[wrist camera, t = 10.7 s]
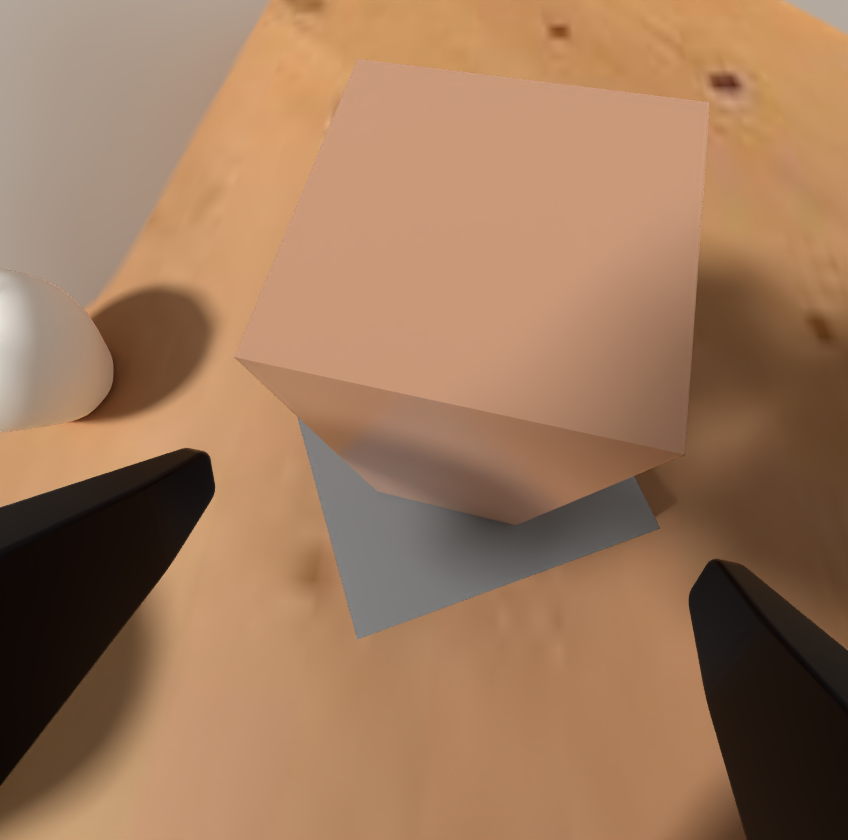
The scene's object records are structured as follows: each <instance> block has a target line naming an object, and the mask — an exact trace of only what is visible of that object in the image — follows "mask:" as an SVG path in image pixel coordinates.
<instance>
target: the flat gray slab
mask: <svg viewBox="0 0 848 840" xmlns="http://www.w3.org/2000/svg"><path fill="white" fill-rule="evenodd" d="M298 421H299V424H300V428H301V432H302V435H303V439H304V443H305V447H306V450H307V454H308V458H309V461H310V465H311V469H312V473H313V476H314V480H315V484H316V487H317V491H318V495H319V499H320V502H321V506H322V510H323V514H324V517H325V521H326V525H327V528H328V532H329V536H330V540H331V543H332V547H333V551H334V554H335V558H336V562H337V566H338V569H339V573H340V577H341V580H342V584H343V588H344V592H345V595H346V599H347V603H348V607H349V610H350V614H351V618H352V621H353V625H354V629H355V633H356V636H357V639H360V638H362V637H365V636H368V635H370V634H373V633H376V632H379V631H381V630H384V629H387V628H390V627H392V626H395V625H398V624H400V623H403V622H406V621H409V620H411V619H414V618H417V617H420V616H422V615H425V614H428V613H430V612H433V611H436V610H439V609H441V608H444V607H447V606H450V605H452V604H455V603H458V602H460V601H463V600H466V599H469V598H471V597H474V596H477V595H480V594H482V593H485V592H488V591H491V590H493V589H496V588H499V587H501V586H504V585H507V584H510V583H512V582H515V581H518V580H521V579H523V578H526V577H529V576H531V575H534V574H537V573H540V572H542V571H545V570H548V569H551V568H553V567H556V566H559V565H561V564H564V563H567V562H570V561H572V560H575V559H578V558H581V557H583V556H586V555H589V554H592V553H594V552H597V551H600V550H602V549H605V548H608V547H611V546H613V545H616V544H619V543H622V542H624V541H627V540H630V539H632V538H635V537H638V536H641V535H643V534H646V533H649V532H652V531H654V530H657V529H660V527H659V525H658V523H657V521H656V519H655V517H654V515H653V513H652V511H651V509H650V507H649V505H648V503H647V501H646V499H645V497H644V495H643V493H642V490H641V488H640V486H639V484H638V482H637V480H636V478H635V476H633V477H630V478H628V479H626V480H623V481H621V482H618V483H616V484H614V485H611V486H609V487H606V488H604V489H602V490H599V491H597V492H594V493H592V494H590V495H587V496H585V497H582V498H580V499H578V500H575V501H573V502H570V503H568V504H566V505H563V506H561V507H559V508H556V509H554V510H551V511H549V512H547V513H544V514H542V515H539V516H537V517H535V518H532V519H530V520H527V521H525V522H523V523H520V524H518V525H511V524H507V523H503V522H499V521H495V520H491V519H487V518H483V517H479V516H475V515H471V514H467V513H463V512H458V511H454V510H450V509H446V508H442V507H438V506H434V505H430V504H426V503H422V502H418V501H414V500H410V499H406V498H401V497H397V496H393V495H389V494H385V493H381V492H377V491H376V490H375V489H374V488H373V487H372V486H371V485H370V484H369V483H368V482H366V481H365V480H364V479H363V478H362V477H361V476H360V475H359V474H358V473H357V472H356V471H355V470H354V469H353V468H352V467H350V466H349V465H348V464H347V463H346V462H345V461H344V460H343V459H342V458H341V457H340V456H339V455H338V454H337V453H336V452H335V451H333V450H332V449H331V448H330V447H329V446H328V445H327V444H326V443H325V442H324V441H323V440H322V439H321V438H320V437H319V436H318V435H316V434H315V433H314V432H313V431H312V430H311V429H310V428H309V427H308V426H307V425H306V424H305V423H304V422H303V421H302V420H300V419H299V418H298Z"/></svg>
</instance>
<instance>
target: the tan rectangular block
mask: <svg viewBox="0 0 848 840" xmlns="http://www.w3.org/2000/svg"><path fill="white" fill-rule="evenodd" d="M709 105H710V102H703V101H695V100H687V99H679V98H671V97H663V96H655V95H646V94H638V93H630V92H622V91H614V90H606V89H598V88H590V87H582V86H574V85H565V84H557V83H549V82H541V81H533V80H525V79H517V78H509V77H501V76H493V75H484V74H476V73H468V72H460V71H452V70H444V69H436V68H428V67H420V66H411V65H403V64H395V63H387V62H379V61H371V60H363V59H357V61H356V63H355V66H354V68H353V71H352V73H351V76H350V78H349V80H348V83H347V85H346V88H345V90H344V92H343V95H342V97H341V100H340V102H339V105H338V107H337V109H336V112H335V114H334V117H333V119H332V122H331V124H330V126H329V129H328V131H327V134H326V136H325V138H324V141H323V143H322V146H321V148H320V151H319V153H318V155H317V158H316V160H315V163H314V165H313V168H312V170H311V172H310V175H309V177H308V180H307V182H306V184H305V187H304V189H303V192H302V194H301V197H300V199H299V201H298V204H297V206H296V209H295V211H294V214H293V216H292V218H291V221H290V223H289V226H288V228H287V230H286V233H285V235H284V238H283V240H282V243H281V245H280V247H279V250H278V252H277V255H276V257H275V260H274V262H273V264H272V267H271V269H270V272H269V274H268V276H267V279H266V281H265V284H264V286H263V289H262V291H261V293H260V296H259V298H258V301H257V303H256V306H255V308H254V310H253V313H252V315H251V318H250V320H249V322H248V325H247V327H246V330H245V332H244V335H243V337H242V339H241V342H240V344H239V347H238V349H237V352H236V354H235V356H234V358H236V359H237V360H238V361H239V362H240V363H241V364H242V365H243V366H244V367H245V368H246V369H247V370H248V371H249V372H250V373H252V374H253V375H254V376H255V377H256V378H257V379H258V380H259V381H260V382H261V383H262V384H263V385H264V386H265V387H266V388H267V389H269V390H270V391H271V392H272V393H273V394H274V395H275V396H276V397H277V398H278V399H279V400H280V401H281V402H282V403H283V404H285V405H286V406H287V407H288V408H289V409H290V410H291V411H292V412H293V413H294V414H295V415H296V416H297V417H298V418H299V419H300V420H302V421H303V422H304V423H305V424H306V425H307V426H308V427H309V428H310V429H311V430H312V431H313V432H314V433H315V434H316V435H318V436H319V437H320V438H321V439H322V440H323V441H324V442H325V443H326V444H327V445H328V446H329V447H330V448H331V449H332V450H333V451H335V452H336V453H337V454H338V455H339V456H340V457H341V458H342V459H343V460H344V461H345V462H346V463H347V464H348V465H349V466H350V467H352V468H353V469H354V470H355V471H356V472H357V473H358V474H359V475H360V476H361V477H362V478H363V479H364V480H365V481H366V482H368V483H369V484H370V485H371V486H372V487H373V488H374V489H375V490H376V491H377V492H381V493H385V494H389V495H393V496H397V497H401V498H406V499H410V500H414V501H418V502H422V503H426V504H430V505H434V506H438V507H442V508H446V509H450V510H454V511H458V512H463V513H467V514H471V515H475V516H479V517H483V518H487V519H491V520H495V521H499V522H503V523H507V524H511V525H518V524H520V523H523V522H525V521H527V520H530V519H532V518H535V517H537V516H539V515H542V514H544V513H547V512H549V511H551V510H554V509H556V508H559V507H561V506H563V505H566V504H568V503H570V502H573V501H575V500H578V499H580V498H582V497H585V496H587V495H590V494H592V493H594V492H597V491H599V490H602V489H604V488H606V487H609V486H611V485H614V484H616V483H618V482H621V481H623V480H626V479H628V478H630V477H633V476H635V475H638V474H640V473H642V472H645V471H647V470H649V469H652V468H654V467H657V466H659V465H661V464H664V463H666V462H669V461H671V460H673V459H676V458H678V457H681V456H683V455H685V448H686V434H687V420H688V405H689V391H690V377H691V363H692V348H693V334H694V320H695V305H696V291H697V277H698V262H699V248H700V234H701V220H702V205H703V191H704V177H705V162H706V148H707V134H708V119H709Z"/></svg>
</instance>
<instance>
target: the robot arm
mask: <svg viewBox="0 0 848 840" xmlns="http://www.w3.org/2000/svg"><path fill="white" fill-rule="evenodd" d="M214 492H215V482H214V476H213V471H212V465H211V459H210V456H209V455H208V454H207V453H206V452H204V451H200V450H195V449H191V448H183V449H180V450H177V451H173V452H170V453H167V454H164V455H161V456H158V457H155V458H152V459H149V460H146V461H143V462H139V463H136V464H133V465H130V466H127V467H124V468H121V469H118V470H115V471H112V472H109V473H105V474H102V475H99V476H96V477H93V478H90V479H87V480H84V481H81V482H78V483H74V484H71V485H68V486H65V487H62V488H59V489H56V490H53V491H50V492H47V493H44V494H40V495H37V496H34V497H31V498H28V499H25V500H22V501H19V502H16V503H13V504H10V505H6V506H3V507H0V787H1V785H2V784H3V783H4V781H5V780H6V779H7V778H8V776H9V775H10V774H11V772H12V771H13V770H14V768H15V767H16V766H17V765H18V763H19V762H20V761H21V759H22V758H23V757H24V755H25V754H26V753H27V752H28V750H29V749H30V748H31V746H32V745H33V744H34V742H35V741H36V740H37V739H38V737H39V736H40V735H41V733H42V732H43V731H44V729H45V728H46V727H47V726H48V724H49V723H50V722H51V720H52V719H53V718H54V716H55V715H56V714H57V713H58V711H59V710H60V709H61V707H62V706H63V705H64V703H65V702H66V701H67V700H68V698H69V697H70V696H71V694H72V693H73V692H74V690H75V689H76V688H77V687H78V685H79V684H80V683H81V681H82V680H83V679H84V677H85V676H86V675H87V674H88V672H89V671H90V670H91V668H92V667H93V666H94V664H95V663H96V662H97V661H98V659H99V658H100V657H101V655H102V654H103V653H104V651H105V650H106V649H107V648H108V646H109V645H110V644H111V642H112V641H113V640H114V638H115V637H116V636H117V635H118V633H119V632H120V631H121V629H122V628H123V627H124V625H125V624H126V623H127V622H128V620H129V619H130V618H131V616H132V615H133V614H134V612H135V611H136V610H137V609H138V607H139V606H140V605H141V603H142V602H143V601H144V599H145V598H146V597H147V596H148V594H149V593H150V592H151V590H152V589H153V588H154V586H155V585H156V584H157V583H158V581H159V580H160V579H161V577H162V576H163V575H164V573H165V572H166V570H167V569H168V568H169V566H170V565H171V563H172V562H173V560H174V559H175V557H176V556H177V554H178V553H179V551H180V549H181V548H182V546H183V545H184V543H185V541H186V540H187V538H188V537H189V535H190V533H191V532H192V530H193V529H194V527H195V525H196V524H197V522H198V521H199V519H200V517H201V516H202V514H203V513H204V511H205V509H206V508H207V506H208V505H209V503H210V501H211V500H212V498H213V495H214ZM689 609H690V615H691V620H692V626H693V631H694V637H695V642H696V648H697V653H698V659H699V664H700V670H701V675H702V681H703V686H704V691H705V695H706V700H707V704H708V707H709V711H710V715H711V718H712V722H713V725H714V729H715V732H716V736H717V739H718V743H719V746H720V749H721V753H722V756H723V760H724V763H725V767H726V770H727V774H728V777H729V780H730V784H731V787H732V791H733V794H734V798H735V801H736V805H737V808H738V812H739V815H740V818H741V822H742V825H743V829H744V832H745V836H746V839H747V840H848V651H847V650H846V649H845V648H844V647H843V646H841V645H840V644H839V643H838V642H836V641H835V640H834V639H833V638H832V637H830V636H829V635H828V634H827V633H825V632H824V631H823V630H822V629H821V628H819V627H818V626H817V625H816V624H814V623H813V622H812V621H811V620H810V619H808V618H807V617H806V616H805V615H803V614H802V613H801V612H800V611H799V610H797V609H796V608H795V607H794V606H792V605H791V604H790V603H789V602H788V601H786V600H785V599H784V598H783V597H781V596H780V595H779V594H778V593H776V592H775V591H774V590H773V589H772V588H770V587H769V586H768V585H767V584H765V583H764V582H763V581H762V580H761V579H759V578H758V577H757V576H756V575H754V574H753V573H752V572H751V571H750V570H748V569H747V568H746V567H745V566H743V565H741V564H739V563H735V562H730V561H725V560H720V559H713V560H711V561H709V562H708V564H707V565H706V567H705V568H704V570H703V571H702V573H701V575H700V576H699V578H698V579H697V581H696V583H695V584H694V586H693V587H692V589H691V591H690V594H689Z"/></svg>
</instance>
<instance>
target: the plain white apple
mask: <svg viewBox="0 0 848 840" xmlns="http://www.w3.org/2000/svg"><path fill="white" fill-rule="evenodd" d="M113 372H114V369H113V360H112V356H111V353H110V351H109V349H108V347H107V345H106V344H105V342H104V340H103V338H102V336H101V334H100V332H99V331H98V329H97V327H96V325H95V324H94V322H93V321H92V319H91V318H90V317H89V315H88V314H87V312H86V311H85V310H84V309H83V308H82V307H81V306H80V305H79V304H78V303H77V302H76V301H75V300H74V299H73V298H72V297H71V296H70V295H68V294H67V293H66V292H65V291H63V290H61V289H60V288H58V287H57V286H54V285H53V284H51V283H50V282H48V281H45V280H43V279H41V278H38V277H35V276H31V275H28V274H25V273H21V272H16V271H11V270H5V269H0V432H12V431H19V430H26V429H32V428H38V427H44V426H50V425H57V424H62V423H66V422H70V421H74V420H77V419H80V418H82V417H84V416H87V415H88V414H89V413H91V412H92V411H93V410H94V409H96V408H97V406H98V405H99V404H100V403H101V402H102V401H103V400H104V398H105V397H106V396H107V394H108V393H109V391H110V389H111V387H112V383H113Z"/></svg>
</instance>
